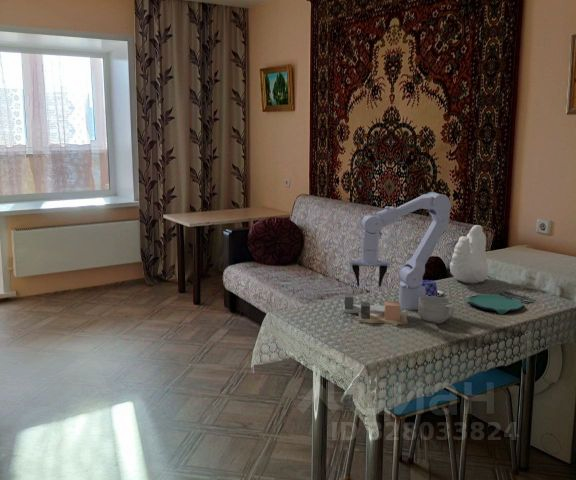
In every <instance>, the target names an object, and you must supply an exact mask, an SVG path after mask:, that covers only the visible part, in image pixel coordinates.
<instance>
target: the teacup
mask: <svg viewBox="0 0 576 480" xmlns="http://www.w3.org/2000/svg"><path fill="white" fill-rule="evenodd" d="M417 310H418V312H417V313H418V316H419V317H420V318H421V319H422V320H424V321H427V322H430V323H431V322H432V323H435V325H436V324H443V323H444V322H445V321H447V320H448V319H450V318H451V317H453V316H454V314H455V307H454V306H453V305H452V301H451V300H450V299H448V298H446V297H442V296H436V295H435V296H422V297H419V307H418V309H417Z"/></svg>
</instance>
